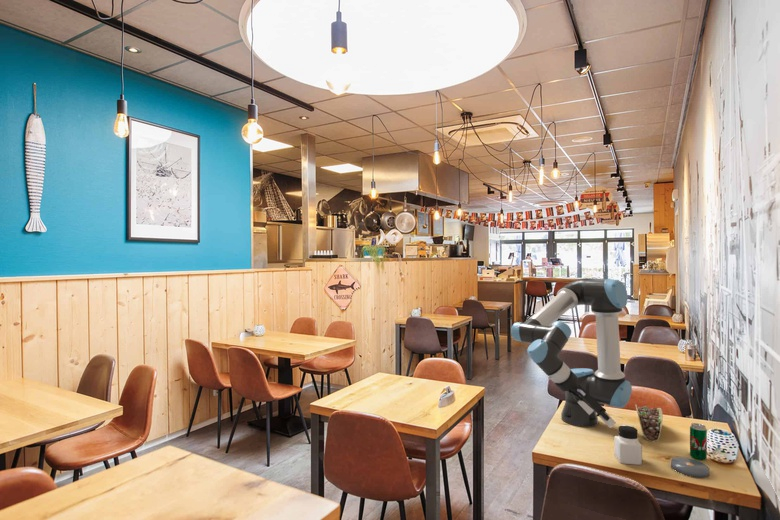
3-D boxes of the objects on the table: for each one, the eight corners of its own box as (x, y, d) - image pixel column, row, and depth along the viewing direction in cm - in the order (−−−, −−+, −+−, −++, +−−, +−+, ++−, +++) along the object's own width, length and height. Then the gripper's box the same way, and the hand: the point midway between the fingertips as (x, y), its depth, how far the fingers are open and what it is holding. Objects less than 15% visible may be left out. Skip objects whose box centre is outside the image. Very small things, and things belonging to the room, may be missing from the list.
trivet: (667, 460, 157) (667, 455, 157) (702, 465, 154) (702, 459, 154) (676, 474, 147) (676, 468, 147) (714, 480, 143) (714, 473, 143)
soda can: (703, 456, 161) (704, 423, 161) (708, 462, 157) (709, 428, 157) (687, 454, 163) (688, 421, 163) (692, 459, 158) (692, 426, 158)
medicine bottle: (642, 465, 154) (642, 431, 154) (620, 463, 155) (620, 429, 155) (635, 456, 161) (635, 424, 161) (614, 454, 162) (614, 422, 162)
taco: (637, 440, 176) (637, 414, 176) (633, 418, 200) (633, 396, 200) (665, 444, 172) (666, 418, 172) (657, 422, 196) (658, 399, 196)
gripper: (540, 375, 169) (577, 414, 170) (572, 393, 144) (614, 439, 145) (554, 361, 170) (590, 400, 170) (588, 377, 145) (630, 423, 146)
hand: (601, 418), depth 158 cm, fingers open, 13 cm apart
